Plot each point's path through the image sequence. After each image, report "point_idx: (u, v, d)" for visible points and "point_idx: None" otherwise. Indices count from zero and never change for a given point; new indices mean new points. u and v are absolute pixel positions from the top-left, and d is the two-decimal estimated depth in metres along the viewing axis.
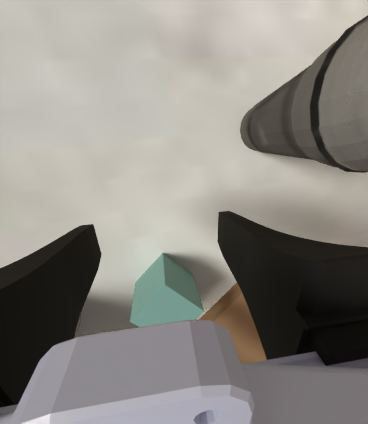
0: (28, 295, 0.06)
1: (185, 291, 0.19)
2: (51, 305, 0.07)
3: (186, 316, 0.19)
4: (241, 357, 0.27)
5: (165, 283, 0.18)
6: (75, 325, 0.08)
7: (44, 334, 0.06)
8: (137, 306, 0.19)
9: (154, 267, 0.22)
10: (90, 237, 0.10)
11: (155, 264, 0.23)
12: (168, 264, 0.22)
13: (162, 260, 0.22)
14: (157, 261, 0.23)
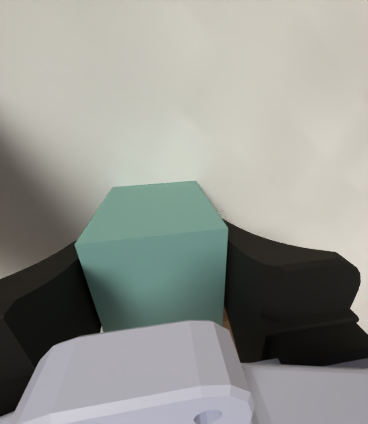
0: (65, 290, 0.06)
1: None
2: (82, 301, 0.07)
3: (189, 315, 0.08)
4: None
5: (226, 228, 0.07)
6: None
7: (78, 329, 0.06)
8: (113, 226, 0.07)
9: (173, 189, 0.11)
10: None
11: (175, 186, 0.11)
12: None
13: (198, 188, 0.11)
14: (181, 185, 0.11)
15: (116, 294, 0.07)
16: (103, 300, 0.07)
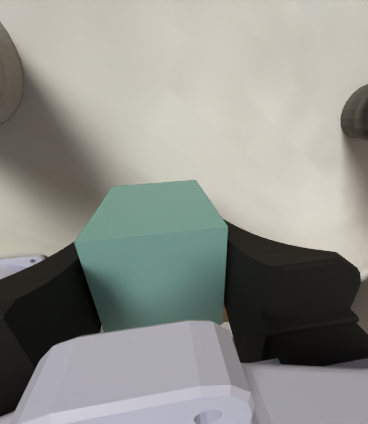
0: (65, 290, 0.06)
1: None
2: (82, 301, 0.07)
3: (189, 314, 0.08)
4: None
5: (225, 226, 0.07)
6: None
7: (78, 329, 0.06)
8: (112, 224, 0.07)
9: (173, 188, 0.11)
10: None
11: (175, 186, 0.11)
12: None
13: (198, 187, 0.11)
14: (181, 184, 0.11)
15: (116, 292, 0.07)
16: (103, 299, 0.07)
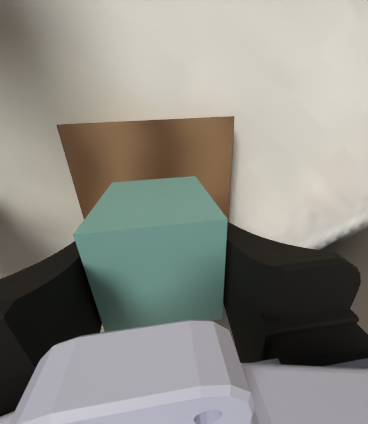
0: (65, 290, 0.06)
1: None
2: (82, 301, 0.07)
3: (188, 308, 0.08)
4: None
5: (225, 219, 0.07)
6: (101, 322, 0.08)
7: (78, 329, 0.06)
8: (112, 217, 0.07)
9: (173, 184, 0.11)
10: None
11: (174, 181, 0.11)
12: None
13: (197, 183, 0.11)
14: (180, 180, 0.11)
15: (115, 286, 0.07)
16: (102, 292, 0.07)
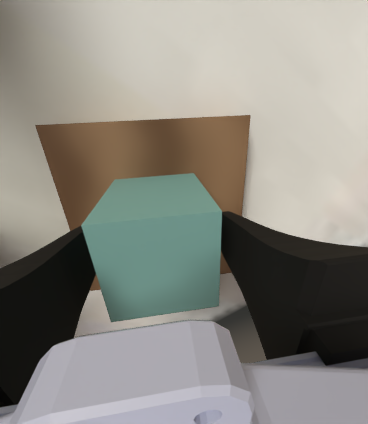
0: (28, 295, 0.06)
1: None
2: (51, 305, 0.07)
3: (187, 295, 0.09)
4: None
5: (220, 211, 0.07)
6: (75, 325, 0.08)
7: (44, 334, 0.06)
8: (116, 210, 0.08)
9: (172, 180, 0.11)
10: None
11: (174, 178, 0.12)
12: None
13: (196, 179, 0.11)
14: (179, 176, 0.12)
15: (119, 273, 0.08)
16: (107, 279, 0.08)
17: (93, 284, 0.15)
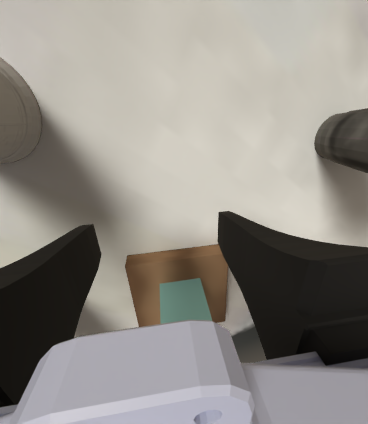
0: (27, 295, 0.06)
1: None
2: (51, 305, 0.07)
3: None
4: (150, 311, 0.25)
5: None
6: (75, 325, 0.08)
7: (44, 334, 0.06)
8: (170, 320, 0.19)
9: (189, 287, 0.23)
10: (90, 237, 0.10)
11: (190, 285, 0.23)
12: None
13: (201, 287, 0.23)
14: (193, 283, 0.23)
15: None
16: None
17: None
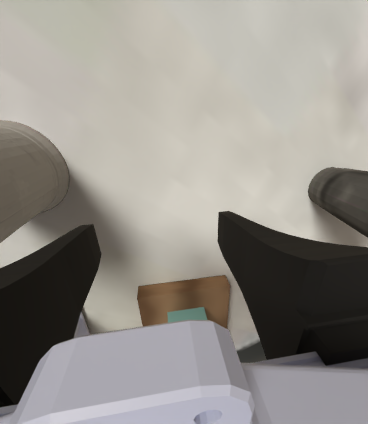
0: (28, 295, 0.06)
1: None
2: (51, 305, 0.07)
3: None
4: None
5: None
6: (75, 325, 0.08)
7: (44, 334, 0.06)
8: None
9: (194, 317, 0.25)
10: (90, 237, 0.10)
11: (195, 314, 0.26)
12: None
13: (205, 317, 0.25)
14: (197, 312, 0.26)
15: None
16: None
17: None
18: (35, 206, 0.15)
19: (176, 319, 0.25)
